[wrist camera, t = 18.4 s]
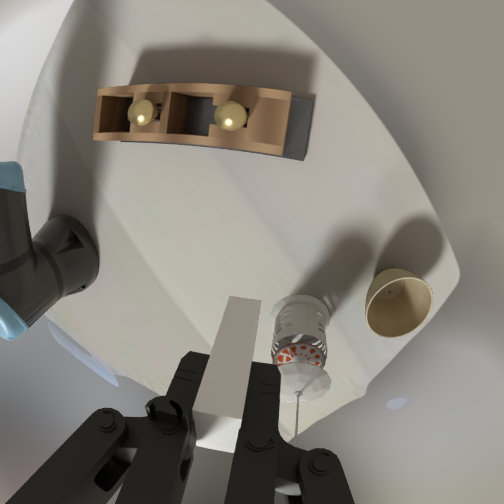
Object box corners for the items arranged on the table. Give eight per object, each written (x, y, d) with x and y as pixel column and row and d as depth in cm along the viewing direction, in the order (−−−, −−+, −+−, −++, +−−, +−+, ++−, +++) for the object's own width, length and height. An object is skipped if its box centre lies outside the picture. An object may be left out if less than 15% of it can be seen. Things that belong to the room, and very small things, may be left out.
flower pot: (360, 253, 38) (372, 277, 31) (421, 254, 36) (440, 276, 30) (352, 311, 42) (360, 340, 35) (408, 309, 40) (422, 336, 34)
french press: (337, 299, 41) (360, 447, 19) (317, 353, 46) (318, 485, 23) (275, 288, 42) (251, 438, 19) (263, 344, 47) (237, 476, 24)
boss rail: (124, 141, 36) (83, 147, 27) (129, 90, 33) (89, 84, 24) (303, 160, 34) (306, 168, 25) (312, 101, 31) (319, 88, 22)
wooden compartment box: (117, 137, 35) (92, 140, 29) (122, 92, 32) (97, 88, 27) (283, 152, 33) (281, 155, 28) (291, 99, 30) (291, 91, 25)
